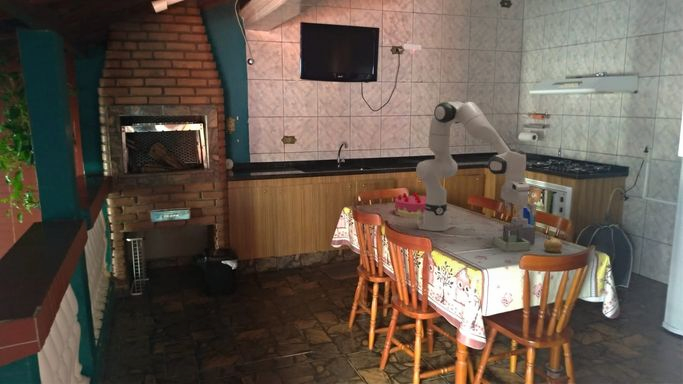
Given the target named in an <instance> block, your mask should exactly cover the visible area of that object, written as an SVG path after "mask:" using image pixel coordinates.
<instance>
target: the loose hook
mask: <svg viewBox="0 0 683 384" xmlns="http://www.w3.org/2000/svg"><path fill="white" fill-rule="evenodd" d="M502 226H503V227H502V236H503V241H504V242H506V243H508V236H509V235H510V231H517V239H516V243H519V242H522V232H523V225H521V224H516V225H510V224H503V225H502Z"/></svg>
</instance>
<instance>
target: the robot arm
mask: <svg viewBox="0 0 683 384" xmlns="http://www.w3.org/2000/svg"><path fill="white" fill-rule="evenodd" d="M433 114H434V115H433V116H431V121H430V125H429V126H430V127H429V131H428V132H429V134H428V148H429V150H430V151H431V152H432V153H433V154H434V159H426V160H423V161H419V162H418V163H417V165H416V167H415V169H416V171H415V172H416V175H417V177H418V178H419V179H420V180H421V181H422V182H423V184H424V187H425V194H426V195H425V196H426V204H425V210H424V211H423V213H422V214H421V216H419V219H418V220H419V221H416V224H417V225H416V226H417V227H418V230H425V231H432V232H442V231H443V232H444V231H447V230H449V229H452V228H453V225H451V224H450V213H449V212H448V211H447V210H448V204H447V194H448V193H447V189H446V188H445V187H444V186H442V184H441V181H440V180H441V179H448V178H452V177H454V176H455V175H457V173H458V170H459V169H458V168H459V167H458V163H457V161H456V160H455V159H454V158H453V157H452V154H451V152H450V151H451V150H450V136H451V128H452V127H451V126H452V125H454V124H459V123H462V124H463V127H464V129H465V130H466V133H468V135H469V136H470V137H472V138H473V139H476V140H478V141H483V142H485V143H488V144H490V145H491V146H492V147H493V149H494V150H495V152H496V153H497V154H496V155H493V156H491V157H490V158H489V159H488V162H487V168H488V170H489V172H490V173H492V174H493V175H498V176H500V175H504V176H505V177H504V178H505V179H504V182H503V184H502V185H501V189H500V199H501V200H503V201H504V205H505V210H507V211H510V210H511V206H510V205H511V204H513V205H515V206H516V207H515V208H516V209H515V210H514V215H516V216H517V215H519V214H520V211H521V209H522V207H526V206H527V204H528V202H529V195H530V194H529V193H530V192H529V191H530V185H529V184H528V183H527V181H526V175H525V173H526V168H527V156H526V155H527V154H526V153H525V152H524V151H523V150H521V149H516V148H511V147H510V146H509V145H508V143H507V142H506V140H505V139H504V138H503V136H502V135H501V134H500V132H498V131H497V129H495V127H493V125H491V123H490V122H489V120H488V119H487V117H486V116H485V114H484V113H483V112H482V110H481V109H480V108H479V106H478V105H477V104H476V103H475V102H472V101H467V102H465V101H454V100H453V101H446V102H440V103H438V104H437V105H436V106H435V107H434V110H433ZM510 203H511V204H510Z"/></svg>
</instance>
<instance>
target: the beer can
mask: <svg viewBox="0 0 683 384" xmlns="http://www.w3.org/2000/svg"><path fill="white" fill-rule="evenodd" d="M523 218H524V219H528V224H530V225H532V226H534V227H535V228H536V226H535V224H536V215H530V208H528V207H523Z"/></svg>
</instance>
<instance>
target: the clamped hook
mask: <svg viewBox="0 0 683 384" xmlns="http://www.w3.org/2000/svg"><path fill="white" fill-rule="evenodd" d="M526 207H528V208H530V215H535V216H536V215H537V204H535V203H533V202H530V201H528V204H527V206H526ZM516 217H517V219H523V207H522V209H521V211H520V214H519V215H517V214H516Z"/></svg>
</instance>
